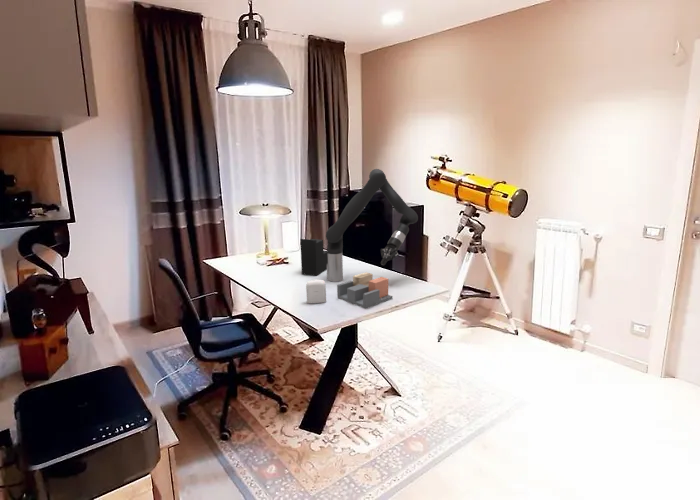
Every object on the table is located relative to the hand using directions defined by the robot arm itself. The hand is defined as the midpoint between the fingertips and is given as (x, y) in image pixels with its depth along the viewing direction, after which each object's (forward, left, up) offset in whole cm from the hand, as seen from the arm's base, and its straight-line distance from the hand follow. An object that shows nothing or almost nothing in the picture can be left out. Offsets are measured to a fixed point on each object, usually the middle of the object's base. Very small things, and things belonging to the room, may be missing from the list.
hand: (382, 264), depth 244 cm
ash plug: (0, -16, -12) cm, 20 cm away
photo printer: (-8, -42, -14) cm, 45 cm away
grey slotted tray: (+6, -20, -14) cm, 25 cm away
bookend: (-53, -6, -14) cm, 55 cm away
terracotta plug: (+12, -16, -12) cm, 23 cm away
